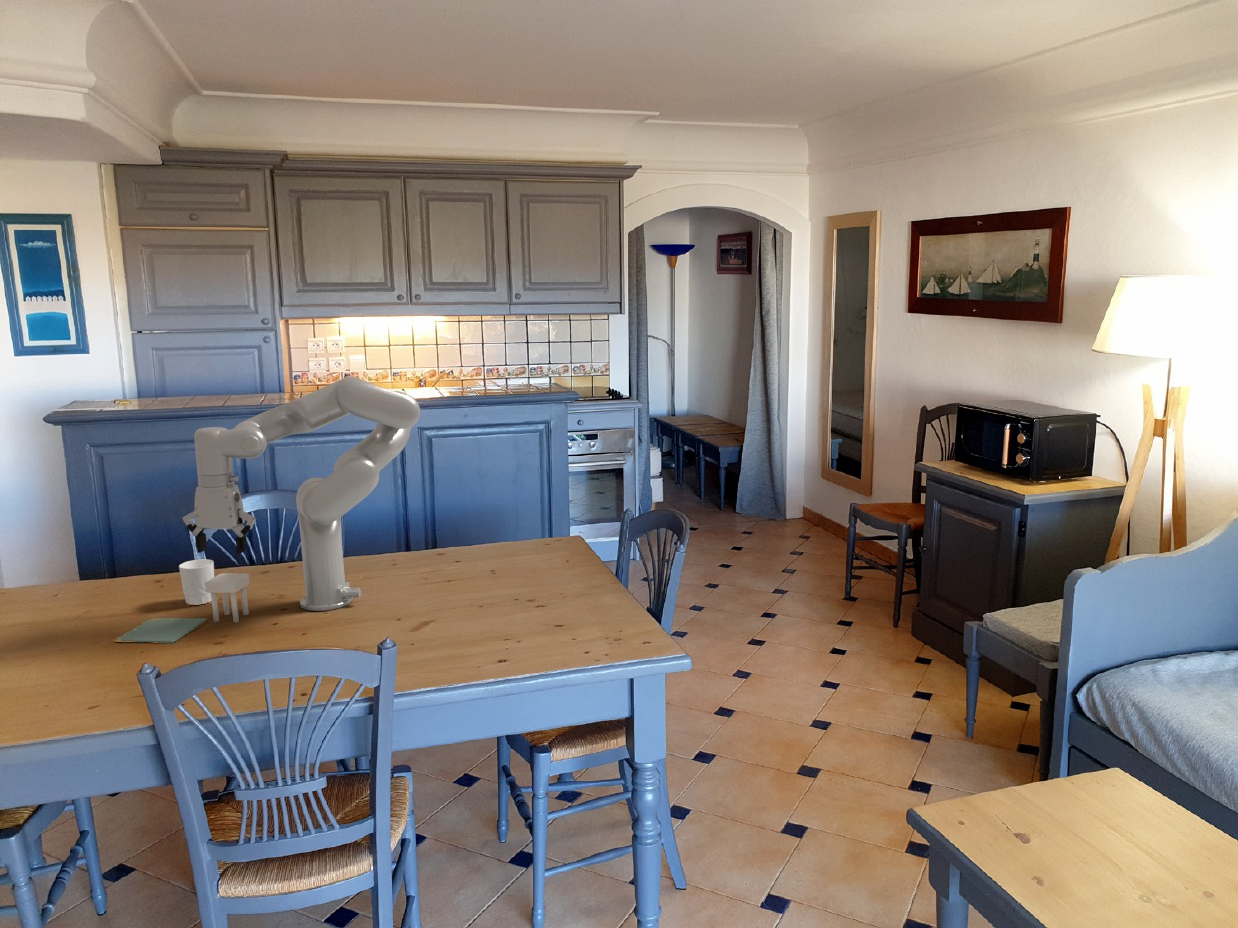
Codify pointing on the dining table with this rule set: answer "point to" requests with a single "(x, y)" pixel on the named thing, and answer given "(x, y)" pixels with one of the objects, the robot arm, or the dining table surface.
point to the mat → (162, 630)
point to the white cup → (196, 580)
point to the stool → (228, 585)
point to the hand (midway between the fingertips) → (221, 551)
